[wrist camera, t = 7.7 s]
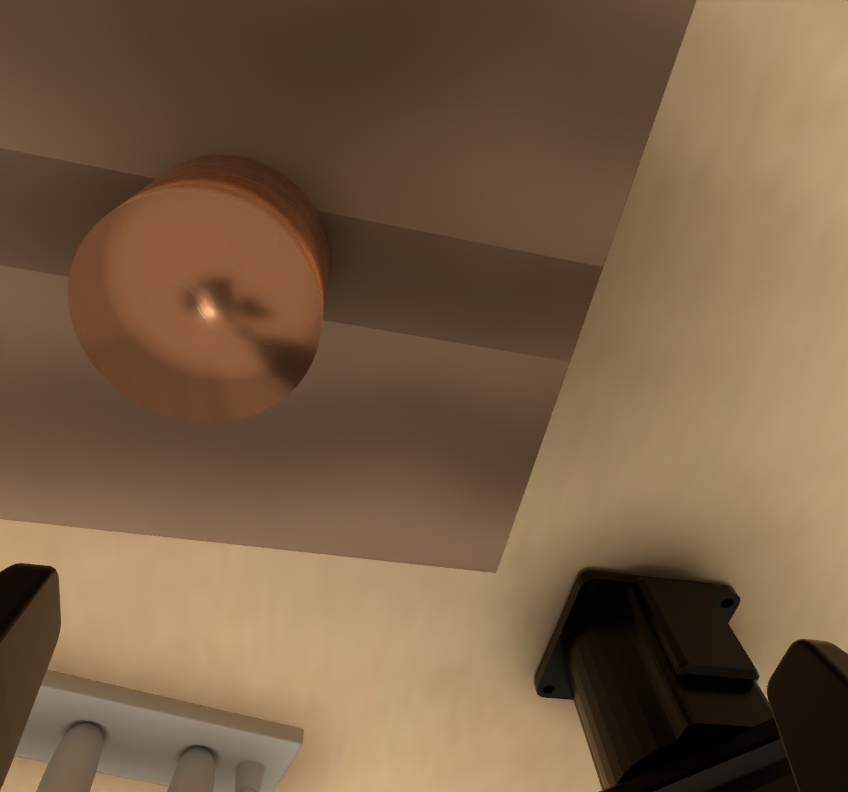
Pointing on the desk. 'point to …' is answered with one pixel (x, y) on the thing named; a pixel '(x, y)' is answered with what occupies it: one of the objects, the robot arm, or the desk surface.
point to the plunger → (204, 290)
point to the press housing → (348, 249)
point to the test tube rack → (149, 740)
